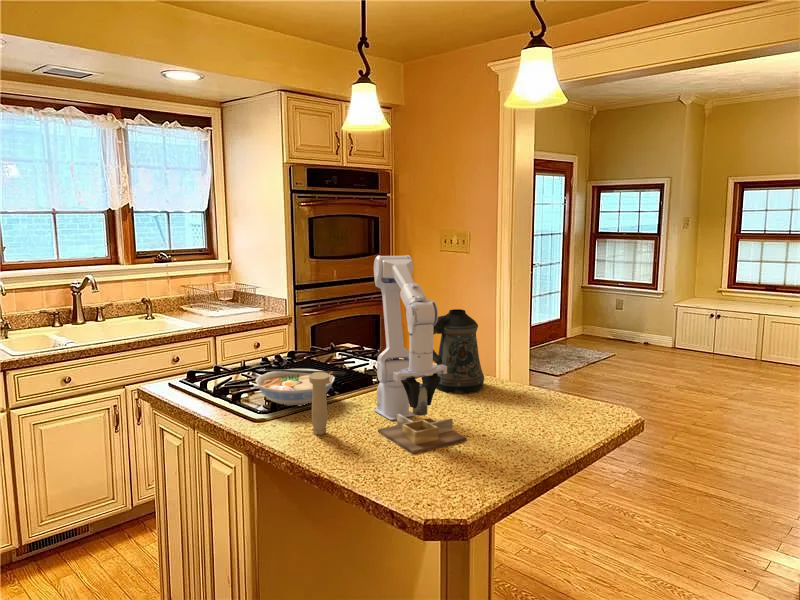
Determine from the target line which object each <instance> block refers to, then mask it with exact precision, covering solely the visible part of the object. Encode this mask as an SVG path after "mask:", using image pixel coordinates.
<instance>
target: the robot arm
mask: <svg viewBox="0 0 800 600" xmlns="http://www.w3.org/2000/svg"><path fill="white" fill-rule="evenodd" d="M413 272H414V260H413V258H412V257H411V255H409V254H406V255H377V256H376V257H375V258H374V262H373V277H374V283H375V287H376V288H378V289H380V292H381V295H382V296H381V297H382V309H383V310H382V311H383V319H384V320H383V321H384V331H385V333H384V334H385V335H384V336H385V345H386V346H385V349H384V350H383V351H382V352H381V353H380V354H378V356H377V362H376V363H377V364H376V375H377V379H378V381H379V383H378V385H377V388H376V408H374V409H373V411H374V412H376V413H377V414H379V415H380V416H382V417H384V418H386V419H388V420H389V421H395V420H396V421H397V414H400V415H402V416H404V417H406V418H410V417H411V418H412V417H416V415H414V414H413V411H410V408H412V409H413V408H417V395H418V389H419V386H420V383H421V382H422V384H427V385H428V406H431V404H432V401H433V398H434V395H435V392H436V390H437V389H436V387H437V386H438V384H439V382H440V380H441V377H439V376H438V374H447V366H445V365H443V364H442V365H437V364H434V363H433V362H434V361H433V350H434V335H433V327H434V326H433V325H435V324H436V323H437V319H438V317H439V311H438V306H437V303H436V302H435V301H434V300H431V299H428V298H427V296H426V294H425V292H424V291H423V288H422V286H421V285H420V284H418V283H416V282H415V281H414V278H413V274H414V273H413ZM401 301H402V303H403V305H404V307H405V309H406V312H405V316H406V323H407V332H408V333H409V337H408V338H409V342H408V343H409V348H408V349H407V348H406V347H405V346H404V335H403V334H404V333H403V332H404V331H403V323H402V313H401V312H402V310H401ZM433 364H434V365H433ZM417 378H421V382H419V381H417ZM428 406H427V407H428Z"/></svg>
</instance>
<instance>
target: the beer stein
mask: <svg viewBox="0 0 800 600" xmlns="http://www.w3.org/2000/svg"><path fill="white" fill-rule="evenodd" d="M433 326H434V327H433V336H434V335H436V334H437V335H439V334H440V335H441V336H440V341H439V346H438V354H437V352H436V351H435V349H433V362H434V363H435V365H442V364H443V365H445V366H447V374H438V376H439V377H441V380H440V382H439V384H438V386H437V387H436V389H435V390H437V391H440V392H443V393H448V394H455V395H469V394H474V393H475V394H476V393H478V392H481V390H483V386H484V382H485V374H484V373H483V372H484V371H483V370H482V366H481V362H480V360H481V359H480V355H479V348H478V339H477V331H478V329H479V324H478V323H477V321H476V320H475V319H473V318H472V317H471V316H469V315H468V314H467V313H466V310H465V309H460V308H459V309H458V308H457V309H455V308H454V309H449V310H448V313H447V314H445V315H440V316H439V315H438V319H437V323H436V324H435V325H433Z"/></svg>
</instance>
